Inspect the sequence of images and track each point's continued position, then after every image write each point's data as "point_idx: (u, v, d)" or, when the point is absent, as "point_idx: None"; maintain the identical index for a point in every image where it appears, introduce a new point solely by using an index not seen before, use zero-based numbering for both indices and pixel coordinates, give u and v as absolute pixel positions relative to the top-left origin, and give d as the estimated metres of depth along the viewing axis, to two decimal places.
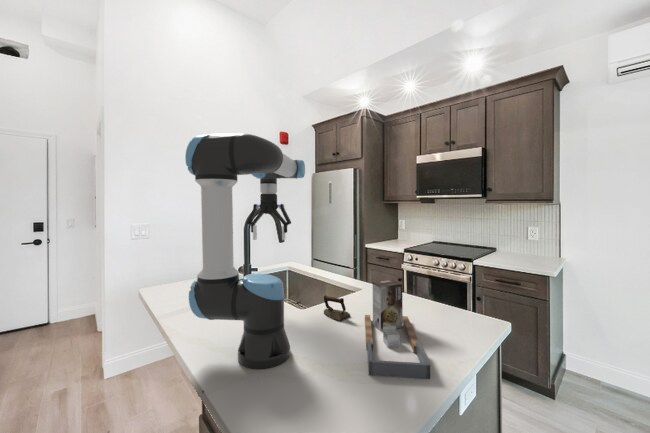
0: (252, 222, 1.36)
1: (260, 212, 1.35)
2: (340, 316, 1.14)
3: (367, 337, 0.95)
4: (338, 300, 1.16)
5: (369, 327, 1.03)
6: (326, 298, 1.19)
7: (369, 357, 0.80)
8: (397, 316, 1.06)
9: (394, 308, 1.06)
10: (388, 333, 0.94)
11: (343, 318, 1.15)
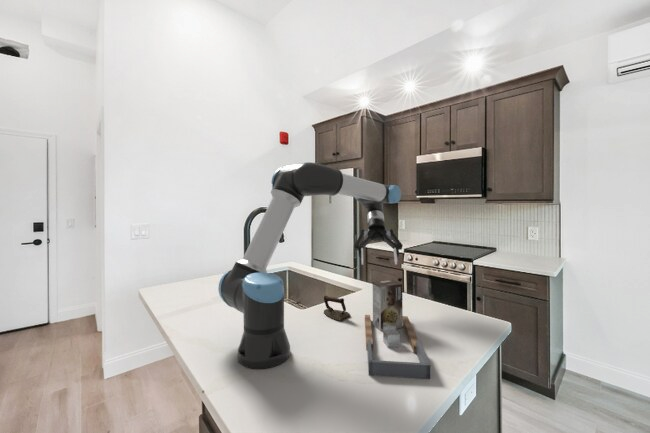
0: (360, 245, 1.27)
1: (369, 235, 1.29)
2: (340, 316, 1.14)
3: (367, 337, 0.95)
4: (338, 300, 1.15)
5: (369, 327, 1.03)
6: (326, 298, 1.19)
7: (369, 357, 0.80)
8: (397, 316, 1.06)
9: (394, 308, 1.06)
10: (388, 333, 0.94)
11: (343, 318, 1.14)
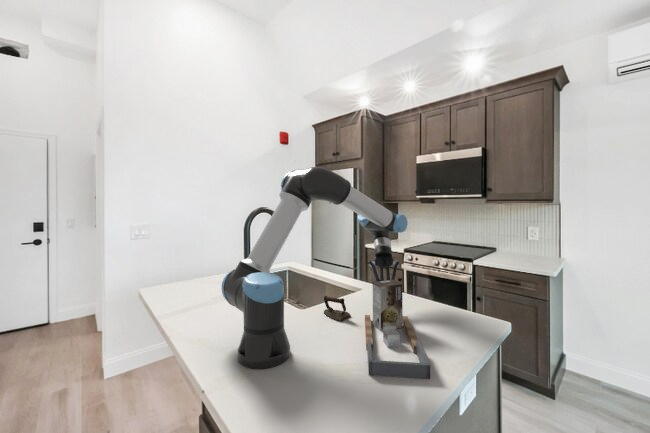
0: (381, 279, 1.22)
1: (380, 266, 1.26)
2: (341, 316, 1.14)
3: (367, 337, 0.95)
4: (338, 300, 1.15)
5: (369, 327, 1.03)
6: (326, 298, 1.19)
7: (369, 357, 0.80)
8: (397, 316, 1.06)
9: (394, 308, 1.06)
10: (388, 333, 0.94)
11: (344, 318, 1.14)
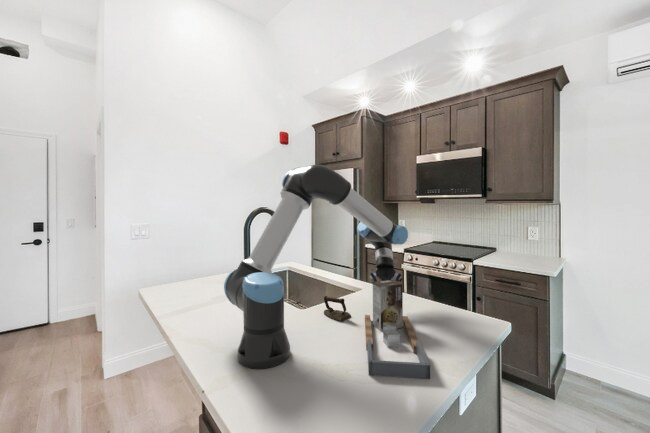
0: None
1: (382, 278, 1.22)
2: (341, 316, 1.14)
3: (367, 337, 0.95)
4: (339, 300, 1.15)
5: (369, 327, 1.03)
6: (326, 298, 1.19)
7: (369, 357, 0.80)
8: (397, 316, 1.06)
9: (394, 308, 1.06)
10: (388, 333, 0.94)
11: (344, 318, 1.14)
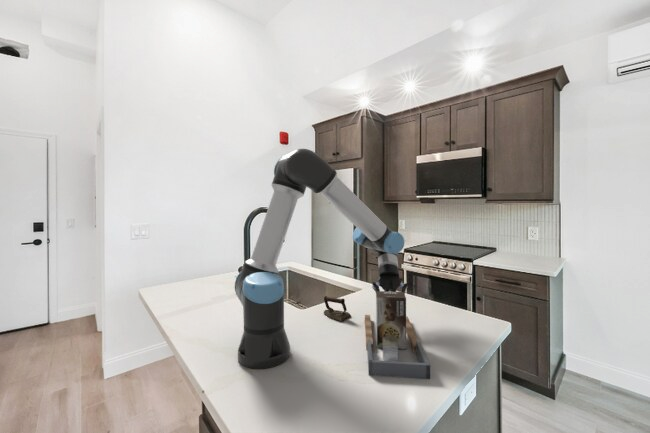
0: None
1: (386, 288, 1.07)
2: (341, 317, 1.14)
3: (367, 337, 0.95)
4: (339, 300, 1.15)
5: (369, 327, 1.03)
6: (326, 299, 1.19)
7: (369, 357, 0.80)
8: (399, 334, 0.91)
9: (395, 325, 0.91)
10: (385, 346, 0.85)
11: (344, 318, 1.14)
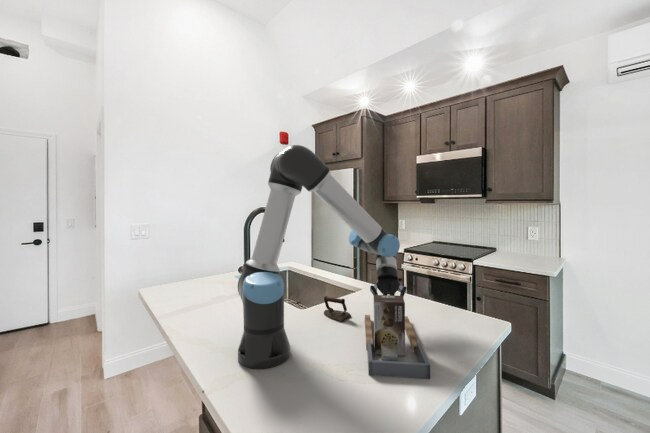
0: None
1: (384, 291, 1.03)
2: (341, 317, 1.14)
3: (367, 337, 0.95)
4: (339, 301, 1.15)
5: (369, 327, 1.03)
6: (326, 299, 1.19)
7: (369, 357, 0.80)
8: (397, 340, 0.87)
9: (393, 330, 0.87)
10: (384, 353, 0.81)
11: (344, 319, 1.14)
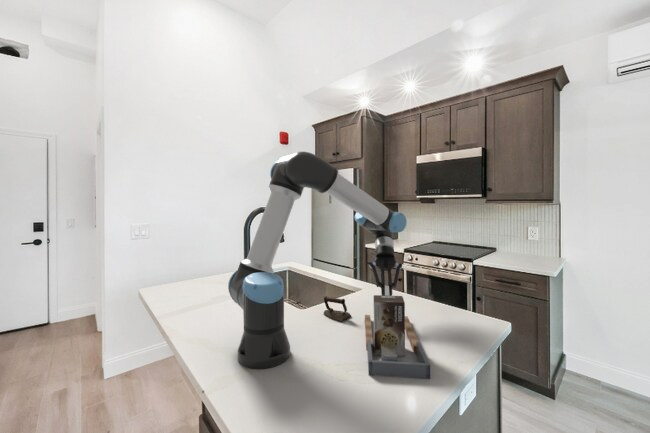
0: (382, 282, 1.11)
1: (382, 267, 1.15)
2: (342, 317, 1.13)
3: (367, 337, 0.95)
4: (339, 301, 1.15)
5: (369, 327, 1.03)
6: (326, 299, 1.18)
7: (369, 357, 0.80)
8: (397, 340, 0.87)
9: (393, 331, 0.87)
10: (384, 354, 0.81)
11: (345, 319, 1.14)
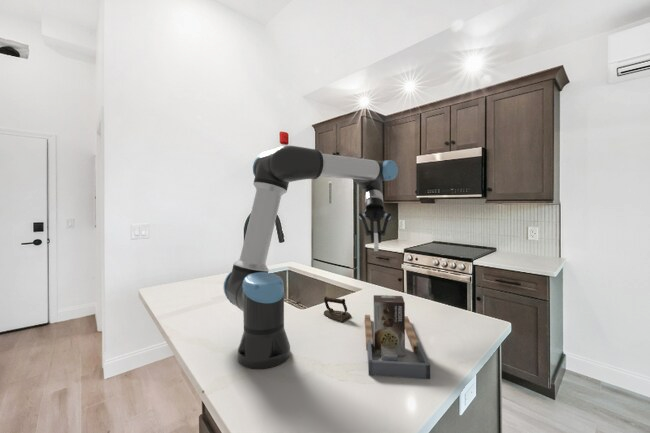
0: (371, 230, 1.14)
1: (371, 217, 1.17)
2: (342, 317, 1.13)
3: (367, 337, 0.95)
4: (340, 301, 1.15)
5: (369, 327, 1.03)
6: (327, 299, 1.18)
7: (369, 357, 0.80)
8: (397, 340, 0.87)
9: (393, 331, 0.87)
10: (385, 354, 0.81)
11: (345, 319, 1.14)
